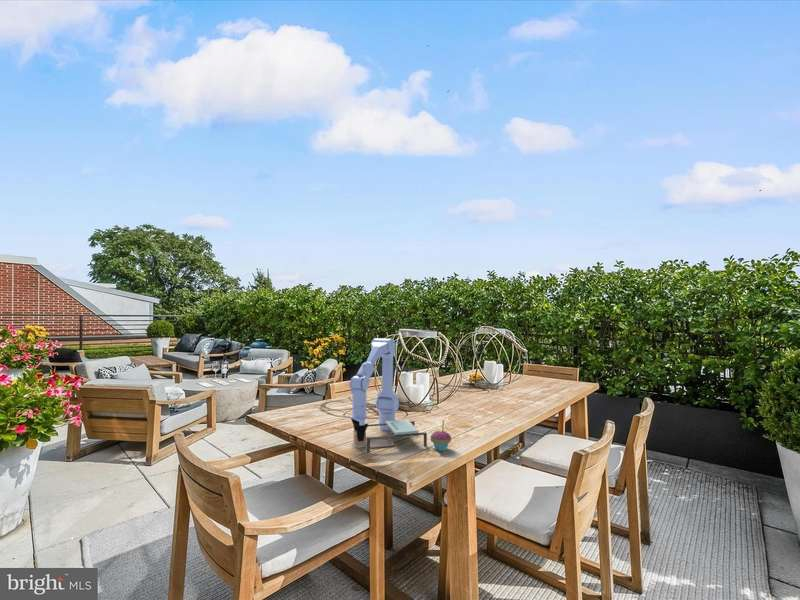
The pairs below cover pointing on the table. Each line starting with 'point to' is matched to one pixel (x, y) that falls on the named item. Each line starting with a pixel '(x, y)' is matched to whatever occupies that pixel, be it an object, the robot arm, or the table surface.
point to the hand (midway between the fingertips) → (359, 438)
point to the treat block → (355, 440)
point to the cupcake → (441, 439)
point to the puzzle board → (386, 439)
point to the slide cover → (401, 427)
